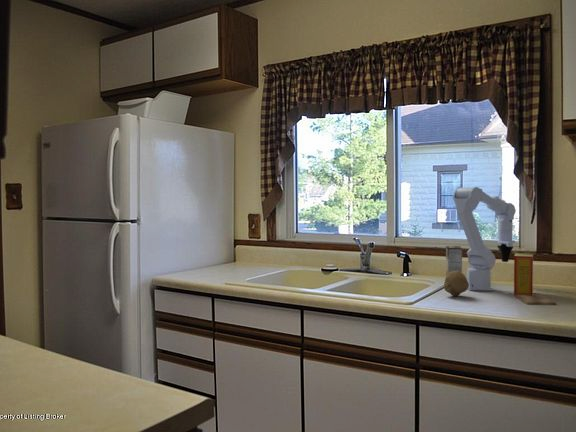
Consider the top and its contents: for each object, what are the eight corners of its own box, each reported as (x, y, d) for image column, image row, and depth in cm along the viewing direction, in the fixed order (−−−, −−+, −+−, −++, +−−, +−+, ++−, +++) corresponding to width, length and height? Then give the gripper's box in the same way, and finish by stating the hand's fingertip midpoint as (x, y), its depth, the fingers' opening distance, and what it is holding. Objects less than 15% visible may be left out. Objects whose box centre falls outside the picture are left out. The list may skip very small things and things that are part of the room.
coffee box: (445, 280, 236) (445, 245, 236) (459, 280, 235) (459, 245, 234) (447, 283, 227) (447, 247, 227) (462, 283, 226) (462, 247, 225)
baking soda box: (532, 296, 196) (532, 255, 195) (514, 295, 199) (514, 254, 198) (532, 292, 204) (533, 253, 204) (515, 291, 207) (515, 252, 206)
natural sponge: (473, 296, 198) (473, 270, 197) (461, 299, 192) (461, 273, 192) (452, 293, 205) (452, 268, 204) (440, 296, 199) (440, 270, 198)
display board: (526, 304, 182) (526, 302, 182) (514, 296, 196) (514, 294, 196) (556, 304, 181) (556, 302, 181) (542, 297, 195) (542, 295, 195)
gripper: (520, 231, 212) (520, 264, 212) (509, 229, 226) (509, 259, 227) (502, 231, 213) (502, 263, 213) (493, 229, 227) (493, 259, 228)
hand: (505, 261), depth 220 cm, fingers closed
